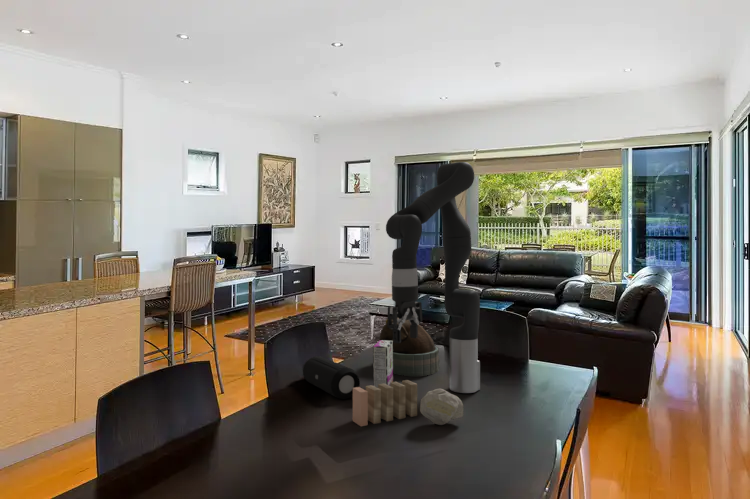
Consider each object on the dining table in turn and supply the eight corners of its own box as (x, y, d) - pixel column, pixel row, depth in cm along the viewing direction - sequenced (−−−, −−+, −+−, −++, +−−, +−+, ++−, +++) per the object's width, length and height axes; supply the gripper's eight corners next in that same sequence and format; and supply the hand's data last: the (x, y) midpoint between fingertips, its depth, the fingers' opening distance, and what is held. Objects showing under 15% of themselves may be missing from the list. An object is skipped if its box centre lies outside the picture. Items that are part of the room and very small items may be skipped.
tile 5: (359, 419, 135) (359, 387, 135) (367, 425, 131) (367, 391, 131) (352, 420, 134) (352, 387, 134) (360, 426, 130) (361, 392, 130)
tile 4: (371, 417, 137) (371, 385, 137) (380, 422, 133) (380, 389, 133) (365, 418, 136) (365, 386, 136) (374, 423, 132) (374, 390, 132)
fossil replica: (458, 419, 135) (458, 383, 135) (469, 430, 127) (469, 391, 127) (416, 421, 133) (416, 385, 133) (424, 433, 125) (425, 394, 125)
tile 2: (395, 412, 141) (396, 381, 141) (405, 417, 137) (405, 385, 137) (390, 413, 140) (390, 382, 140) (399, 419, 136) (399, 386, 136)
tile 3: (384, 415, 139) (384, 383, 139) (393, 420, 135) (393, 387, 135) (377, 416, 138) (378, 384, 138) (386, 421, 134) (387, 388, 134)
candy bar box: (379, 387, 167) (379, 339, 168) (393, 388, 166) (393, 340, 167) (372, 397, 156) (372, 345, 157) (387, 398, 155) (387, 346, 156)
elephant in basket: (372, 367, 197) (372, 313, 197) (432, 366, 200) (432, 312, 200) (378, 382, 174) (378, 321, 174) (446, 380, 177) (447, 320, 177)
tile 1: (407, 410, 143) (407, 379, 143) (417, 415, 139) (417, 383, 139) (401, 411, 142) (401, 380, 142) (411, 416, 138) (411, 384, 138)
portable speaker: (300, 385, 171) (300, 356, 171) (325, 381, 176) (325, 353, 176) (334, 404, 149) (334, 371, 150) (362, 398, 155) (362, 367, 155)
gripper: (401, 287, 132) (402, 346, 133) (429, 282, 144) (429, 337, 144) (379, 285, 137) (380, 343, 137) (407, 281, 148) (408, 334, 149)
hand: (405, 340), depth 141 cm, fingers open, 8 cm apart
